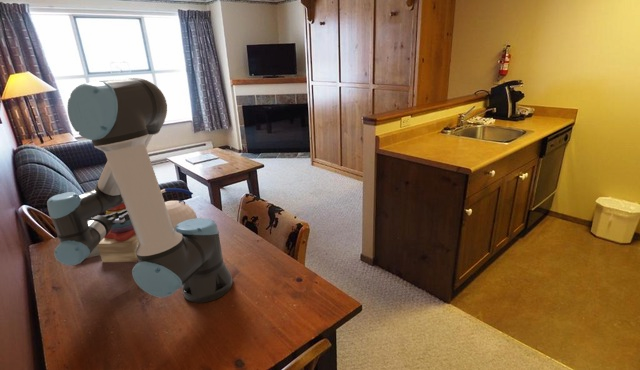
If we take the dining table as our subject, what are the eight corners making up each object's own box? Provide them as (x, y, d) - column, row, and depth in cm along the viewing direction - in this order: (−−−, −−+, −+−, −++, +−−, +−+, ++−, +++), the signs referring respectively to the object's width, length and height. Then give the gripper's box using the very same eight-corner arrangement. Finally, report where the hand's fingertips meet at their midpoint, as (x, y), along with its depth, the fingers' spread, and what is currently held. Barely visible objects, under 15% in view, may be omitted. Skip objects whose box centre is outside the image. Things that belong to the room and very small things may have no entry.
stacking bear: (101, 237, 126) (89, 192, 120) (125, 226, 135) (116, 184, 129) (120, 242, 122) (109, 195, 116) (145, 230, 130) (135, 187, 125)
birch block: (136, 262, 125) (131, 243, 122) (102, 262, 125) (96, 243, 122) (154, 243, 137) (149, 226, 134) (123, 244, 137) (118, 226, 135)
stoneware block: (104, 254, 131) (100, 240, 128) (76, 260, 127) (72, 246, 125) (107, 243, 138) (103, 230, 136) (82, 249, 135) (77, 236, 133)
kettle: (148, 223, 155) (139, 186, 148) (196, 213, 163) (189, 177, 156) (148, 242, 138) (137, 202, 131) (201, 230, 145) (193, 191, 139)
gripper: (55, 245, 107) (87, 216, 127) (138, 236, 110) (157, 209, 130) (47, 224, 105) (81, 198, 124) (132, 215, 108) (153, 191, 127)
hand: (120, 203), depth 127 cm, fingers open, 13 cm apart
